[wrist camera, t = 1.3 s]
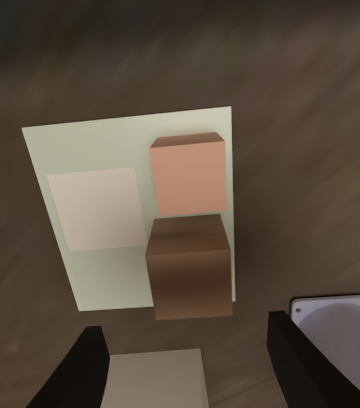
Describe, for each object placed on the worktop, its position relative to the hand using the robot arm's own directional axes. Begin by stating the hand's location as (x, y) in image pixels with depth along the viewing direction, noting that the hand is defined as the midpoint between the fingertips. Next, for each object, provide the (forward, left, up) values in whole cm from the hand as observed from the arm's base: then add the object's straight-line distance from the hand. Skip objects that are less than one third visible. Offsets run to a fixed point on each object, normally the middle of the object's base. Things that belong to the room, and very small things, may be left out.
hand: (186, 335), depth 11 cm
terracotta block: (+5, -1, -10) cm, 11 cm away
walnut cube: (-1, 0, -10) cm, 10 cm away
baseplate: (+1, +3, -10) cm, 11 cm away
